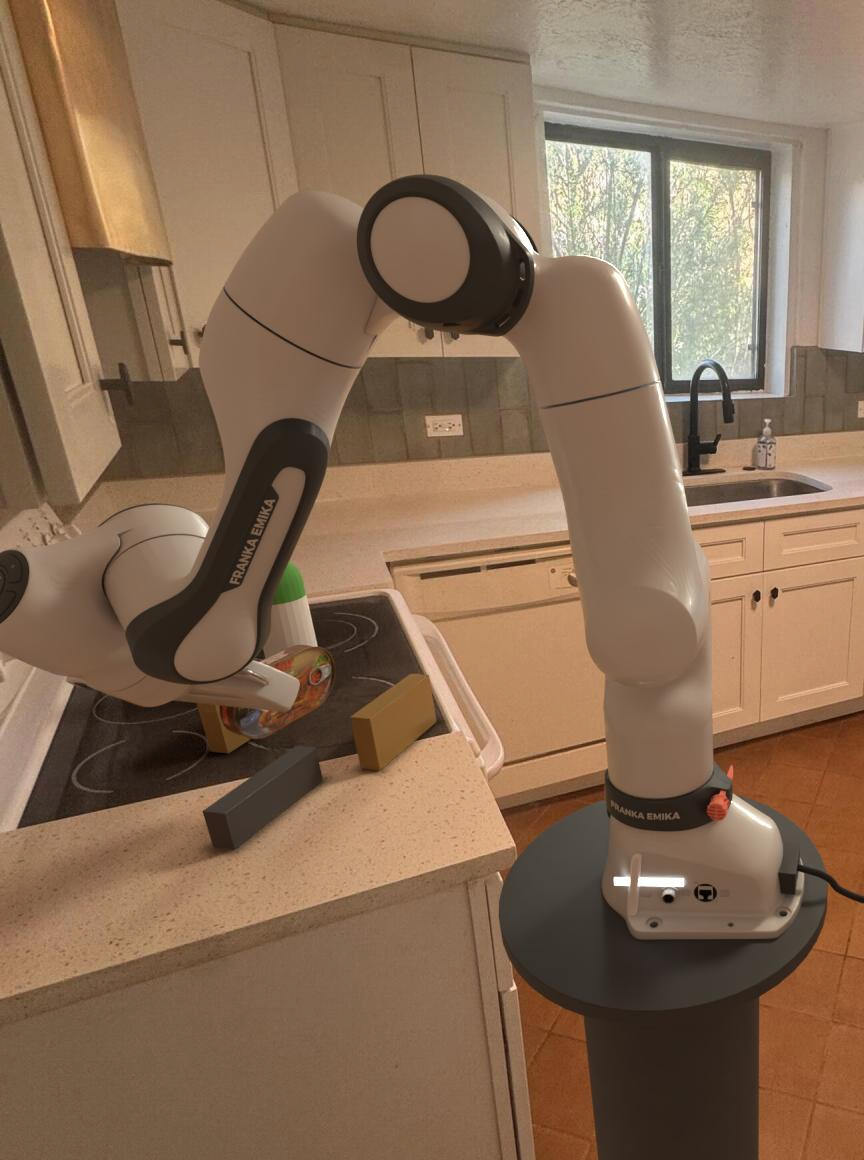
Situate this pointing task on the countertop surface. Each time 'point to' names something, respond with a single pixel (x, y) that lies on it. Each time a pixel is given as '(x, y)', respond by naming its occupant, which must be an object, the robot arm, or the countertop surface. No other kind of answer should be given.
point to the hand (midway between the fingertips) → (250, 703)
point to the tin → (315, 687)
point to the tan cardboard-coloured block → (218, 730)
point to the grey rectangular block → (262, 797)
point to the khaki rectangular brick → (393, 721)
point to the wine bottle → (290, 615)
